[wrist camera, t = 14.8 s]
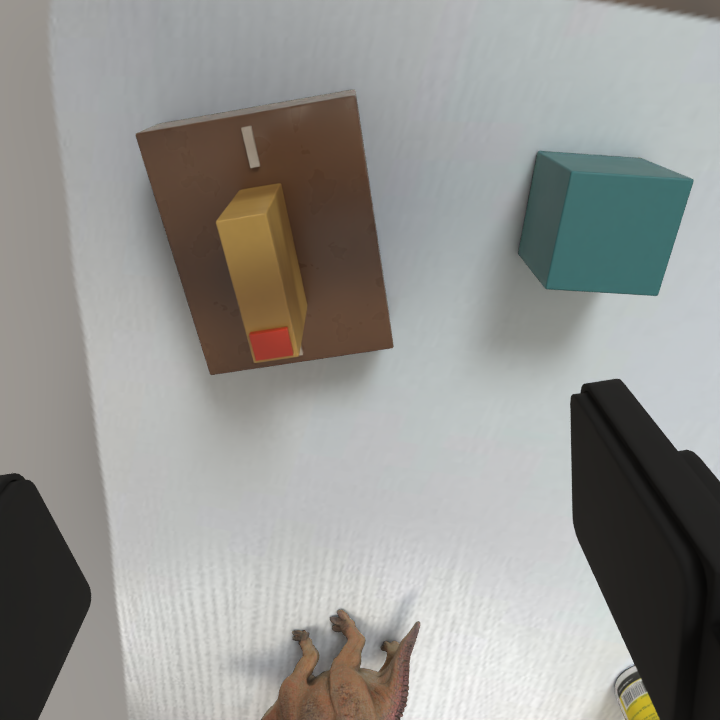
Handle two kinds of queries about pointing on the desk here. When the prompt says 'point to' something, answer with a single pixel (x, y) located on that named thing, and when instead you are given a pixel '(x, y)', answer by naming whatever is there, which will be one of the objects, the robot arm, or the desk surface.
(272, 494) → the desk surface
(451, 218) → the desk surface
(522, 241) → the key block
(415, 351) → the desk surface
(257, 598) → the desk surface
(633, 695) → the supplement bottle
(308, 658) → the dinosaur figurine
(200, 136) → the lock plate
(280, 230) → the thumb turn
